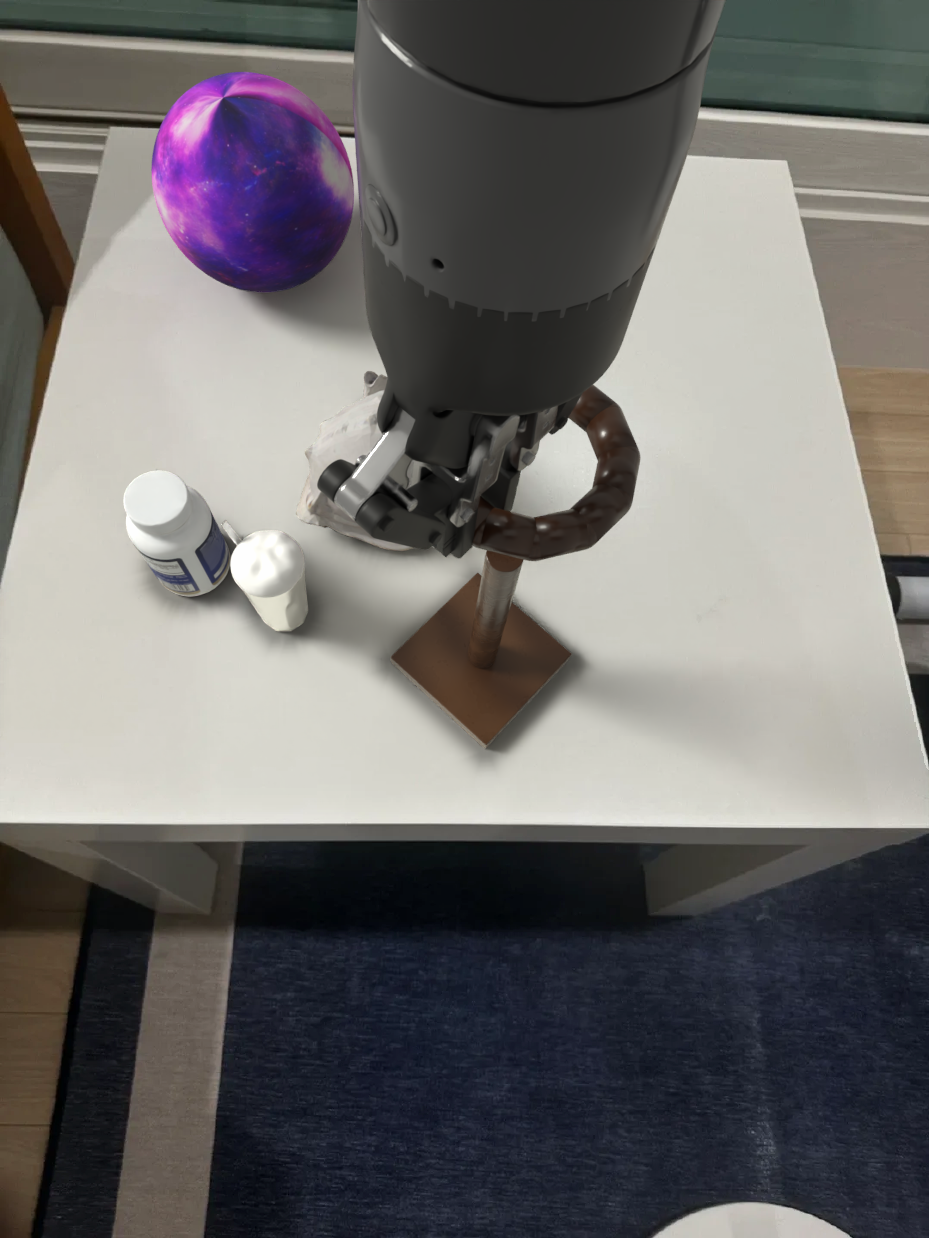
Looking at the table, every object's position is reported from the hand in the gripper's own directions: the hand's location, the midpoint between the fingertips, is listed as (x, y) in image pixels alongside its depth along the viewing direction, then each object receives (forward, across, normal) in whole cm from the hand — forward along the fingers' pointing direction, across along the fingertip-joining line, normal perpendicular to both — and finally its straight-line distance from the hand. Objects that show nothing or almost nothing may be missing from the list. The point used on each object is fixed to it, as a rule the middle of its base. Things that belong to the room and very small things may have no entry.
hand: (467, 520), depth 37 cm
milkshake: (+25, -4, +13) cm, 28 cm away
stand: (+25, +3, 0) cm, 25 cm away
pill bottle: (+25, -6, +20) cm, 32 cm away
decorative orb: (+25, +17, +37) cm, 48 cm away
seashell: (+25, +8, +16) cm, 30 cm away
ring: (-1, +4, 0) cm, 4 cm away
